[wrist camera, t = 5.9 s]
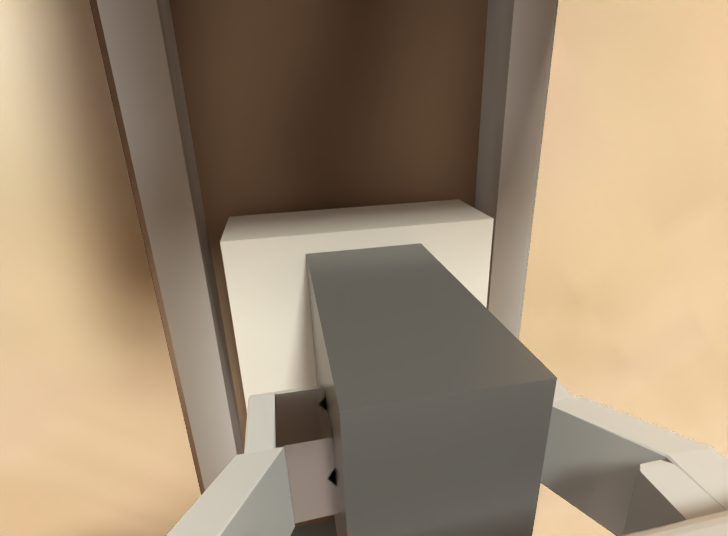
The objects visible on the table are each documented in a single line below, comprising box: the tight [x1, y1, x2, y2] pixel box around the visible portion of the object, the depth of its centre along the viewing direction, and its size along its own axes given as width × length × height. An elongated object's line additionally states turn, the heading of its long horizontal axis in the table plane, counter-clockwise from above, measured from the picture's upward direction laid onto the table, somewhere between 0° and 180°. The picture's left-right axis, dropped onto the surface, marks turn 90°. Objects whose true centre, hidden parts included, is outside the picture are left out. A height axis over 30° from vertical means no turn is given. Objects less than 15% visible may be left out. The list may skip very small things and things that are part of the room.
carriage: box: [220, 199, 557, 536], centre depth 11 cm, size 7×6×8 cm
